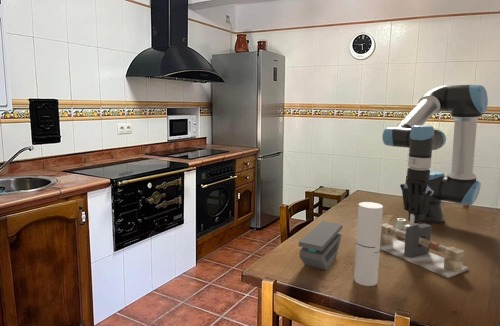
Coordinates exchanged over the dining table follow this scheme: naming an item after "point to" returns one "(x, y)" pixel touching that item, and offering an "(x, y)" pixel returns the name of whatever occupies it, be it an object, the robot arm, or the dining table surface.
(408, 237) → the collar
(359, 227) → the cylindrical container
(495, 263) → the dining table surface
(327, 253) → the grey grooved block
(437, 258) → the rail
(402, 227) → the valve
